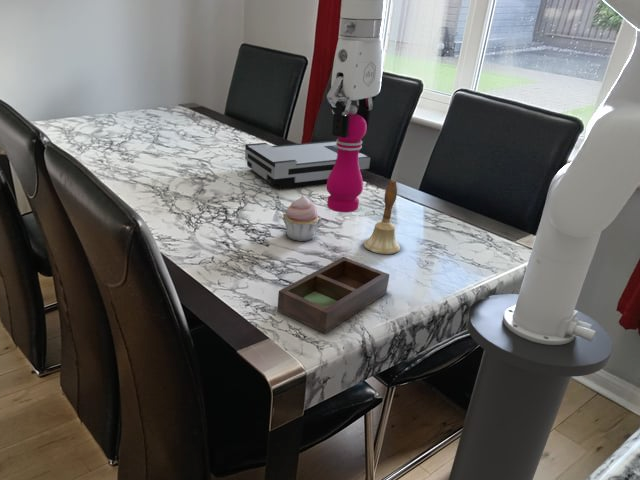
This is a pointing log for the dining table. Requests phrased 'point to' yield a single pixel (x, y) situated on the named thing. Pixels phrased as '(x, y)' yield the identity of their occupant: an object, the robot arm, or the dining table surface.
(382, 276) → the holder
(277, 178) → the game console
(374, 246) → the hand bell
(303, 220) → the cupcake
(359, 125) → the pepper mill
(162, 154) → the dining table surface
